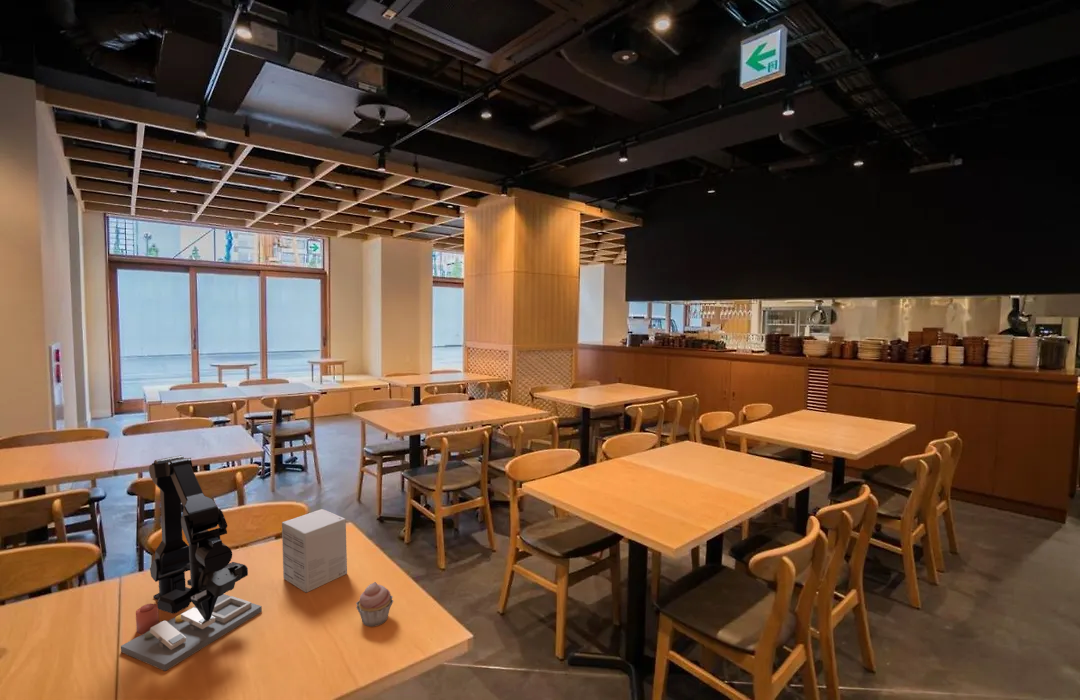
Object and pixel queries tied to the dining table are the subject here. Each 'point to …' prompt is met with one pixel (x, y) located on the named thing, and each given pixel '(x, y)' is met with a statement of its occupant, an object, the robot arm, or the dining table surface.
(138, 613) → the cap
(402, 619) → the dining table surface
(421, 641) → the dining table surface
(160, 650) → the panel
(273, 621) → the dining table surface
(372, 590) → the cupcake
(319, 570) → the supplement box
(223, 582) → the robot arm
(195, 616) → the block
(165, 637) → the breaker
